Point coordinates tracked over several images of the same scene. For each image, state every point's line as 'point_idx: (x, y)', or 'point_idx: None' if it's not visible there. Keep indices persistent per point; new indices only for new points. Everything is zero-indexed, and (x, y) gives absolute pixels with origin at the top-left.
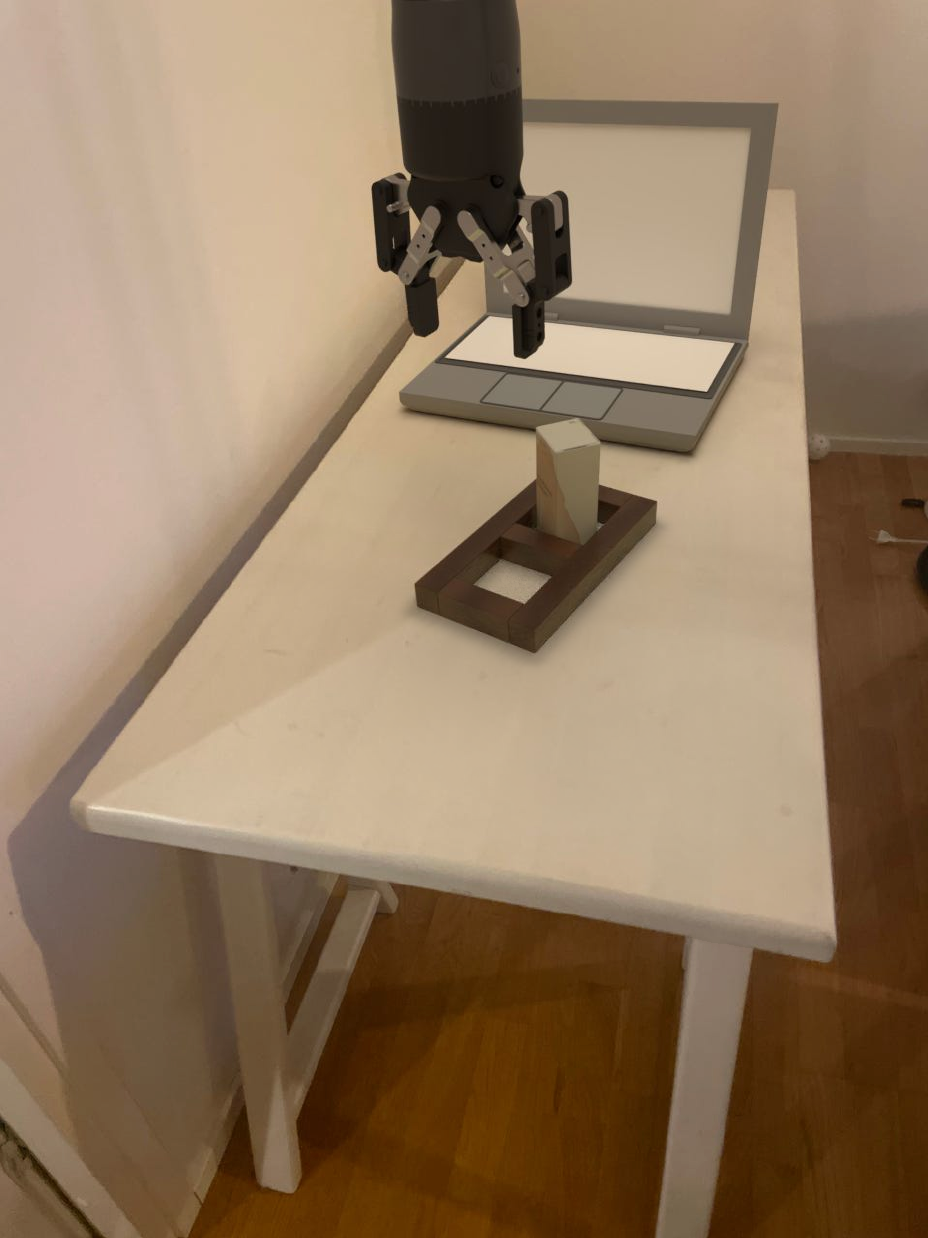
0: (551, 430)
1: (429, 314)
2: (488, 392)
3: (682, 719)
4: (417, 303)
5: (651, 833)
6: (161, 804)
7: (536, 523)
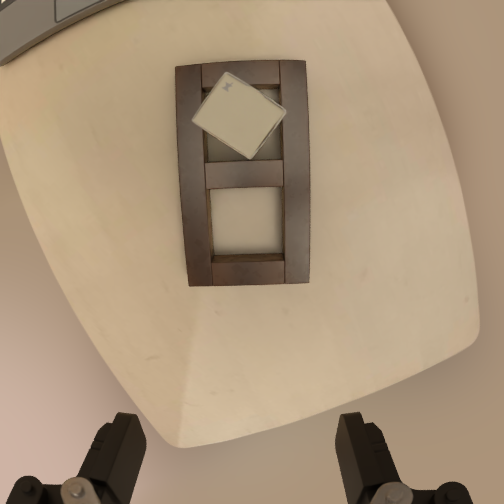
0: (215, 118)
1: (133, 452)
2: (55, 8)
3: (414, 274)
4: (133, 489)
5: (418, 346)
6: (203, 441)
7: None
